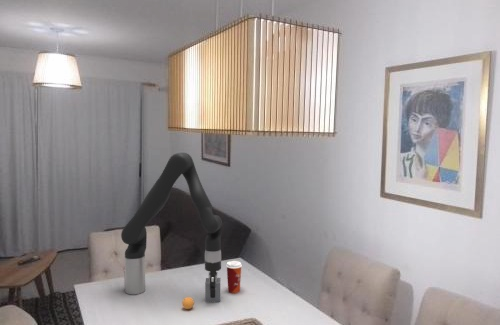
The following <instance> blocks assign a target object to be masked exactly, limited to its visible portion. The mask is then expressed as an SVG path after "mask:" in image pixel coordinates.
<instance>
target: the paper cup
mask: <svg viewBox="0 0 500 325" xmlns="http://www.w3.org/2000/svg"><path fill="white" fill-rule="evenodd" d="M225 266H226V272H227V273H226V275H227V276H226V277H227V278H226V279H227V289H228V290H227V291H228V293H230V294H238V293H240V292H241V281H242V267H243V265H242V263H241V262H240V261H238V260H230V261H228V262H227V263H226V265H225Z"/></svg>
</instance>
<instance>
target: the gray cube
mask: <svg viewBox="0 0 500 325" xmlns="http://www.w3.org/2000/svg"><path fill="white" fill-rule="evenodd" d="M215 280H216V279H215ZM204 283H205V285H204V289H205V290H204V302H205V303H221V277H217V284H216V285H215V288H216V289H215V298H211V297H210V284H209V277H205V282H204ZM211 287H214V285H211Z"/></svg>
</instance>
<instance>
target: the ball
mask: <svg viewBox="0 0 500 325" xmlns="http://www.w3.org/2000/svg"><path fill="white" fill-rule="evenodd" d="M194 305H195V301H194V299H193V298H192V297H190V296H187V297H185V298H183V299H182V305H181V306H182V307H183V308H184V309H185V310H190V309H192V308H193V307H194Z"/></svg>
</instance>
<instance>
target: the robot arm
mask: <svg viewBox="0 0 500 325" xmlns="http://www.w3.org/2000/svg"><path fill="white" fill-rule="evenodd" d="M181 175H182V176H183V178H184V179H185V181H186V183H187V188H188V190H189V195H190V198H191V201H192V203H193V205H194V207H195V209H196V211H197V213H198V215H199V220H200V222H201V226H202V228H203V229H204V230H205V231H206V233H207V236H206V238H205V241H204V244H205V245H204V246H205V248H204V249H205V251H204V270H206V271H207V272H208V278H209V284H210V297H211V298H215V289H216V288H215V285H216V284H217V278H218V271H220V270H221V269H222V250H221V242H222V241H221V238H222V232H223V221H222V218H221V217H220V216H219V215H217V214H214V213H213V204H212V202H211V201H210V198H209V197H208V195H207V193H206V191H205V189H204V187H203V185H202V182H201V179H200V178H199V175H198V173H197V169H196V166H195V163H194V161H193V158H192V156H191V155H190V154H189V153H188V152H177V153H175V154H172V155H171V156H170V157H169V159H168V161H167V162H166V164H165V166H164V169H163V170H162V173H161V174H160V176H159V177H158V178H157V180H156V181H155V183H154V184H153V186H152V187H151V189H150V190H149V191H148V193H147V194H146V195H145V197H144V199H143V201H142V202H141V203H140V205H139V207H138V208H137V210H136V212H135V213H134V215H133V216H132V218H130V220H129V221H128V222H127V224H126V225H125V226H124V227H123V228H122V230H121V235H120V238H121V240H122V242H123V243H124V244H126V245H128V246H127V248H126V249H125V251H124V271H123V274H124V275H123V278H124V280H123V281H124V282H123V283H124V288H123V290H124V291H125V293H126V294H128V295H138V294H143V293H144V292H145V291H146V256H145V254H146V249H147V238H148V237H147V229H146V226H147V225H148V224H149V222H151V221H152V220H153V219H154V217H155V216H157V215H158V214H159V212H161V210H162V209H163V208H164V207H165V205H166V203H167V202H168V200H169V198H170V195H171V192H172V189H173V186H174V185H175V183H176V182H177V180H178V179H179V178H180V176H181ZM215 279H216V280H215ZM211 285H214V287H211Z"/></svg>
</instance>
